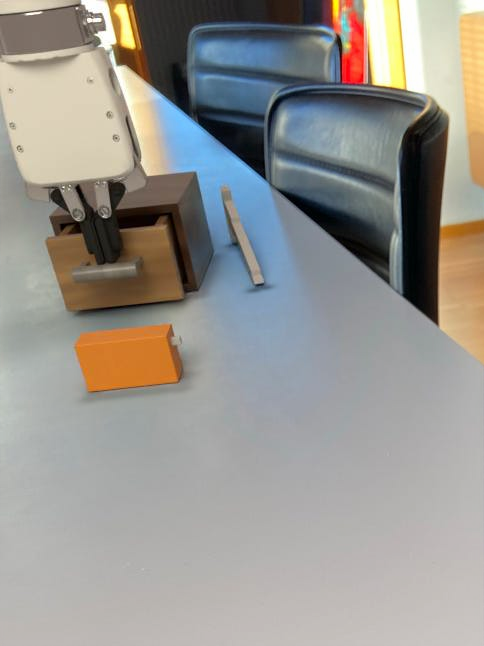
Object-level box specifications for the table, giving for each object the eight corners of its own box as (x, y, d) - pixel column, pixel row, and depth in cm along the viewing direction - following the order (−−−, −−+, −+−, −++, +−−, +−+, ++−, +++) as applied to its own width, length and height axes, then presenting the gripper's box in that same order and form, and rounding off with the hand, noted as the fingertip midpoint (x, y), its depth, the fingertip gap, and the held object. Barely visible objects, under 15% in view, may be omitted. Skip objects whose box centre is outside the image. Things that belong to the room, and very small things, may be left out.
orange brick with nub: (88, 392, 85) (73, 345, 82) (95, 378, 87) (81, 332, 85) (187, 381, 85) (175, 334, 83) (192, 368, 87) (180, 322, 85)
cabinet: (198, 290, 105) (177, 203, 100) (76, 303, 105) (48, 216, 100) (214, 251, 117) (196, 171, 112) (104, 262, 116) (81, 182, 111)
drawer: (177, 313, 97) (158, 239, 93) (57, 326, 97) (33, 252, 92) (200, 260, 111) (184, 194, 107) (95, 271, 111) (76, 205, 107)
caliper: (229, 240, 120) (217, 183, 117) (239, 238, 121) (227, 182, 117) (255, 287, 105) (242, 224, 101) (265, 285, 105) (253, 222, 101)
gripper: (140, 21, 88) (194, 240, 99) (-34, 40, 87) (39, 258, 98) (124, 30, 82) (183, 262, 93) (-62, 50, 81) (19, 282, 92)
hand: (109, 260), depth 96 cm, fingers closed
